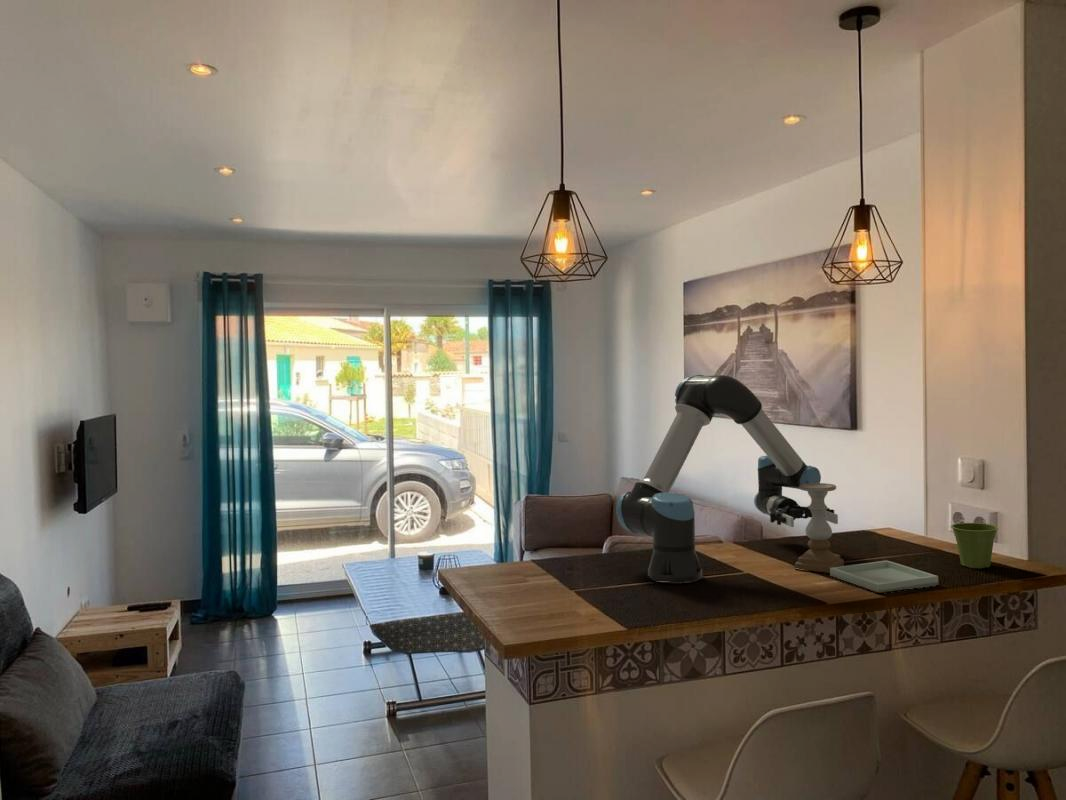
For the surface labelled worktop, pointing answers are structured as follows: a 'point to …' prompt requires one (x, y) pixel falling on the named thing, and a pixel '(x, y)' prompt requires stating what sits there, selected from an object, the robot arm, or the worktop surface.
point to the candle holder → (818, 532)
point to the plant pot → (975, 543)
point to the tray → (884, 576)
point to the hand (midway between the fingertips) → (814, 520)
